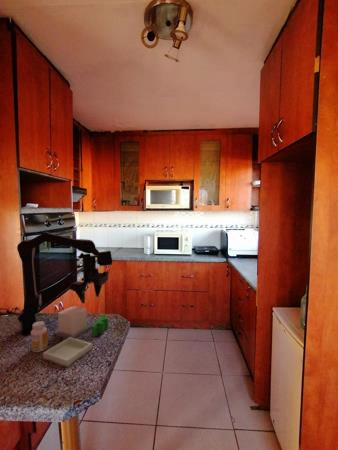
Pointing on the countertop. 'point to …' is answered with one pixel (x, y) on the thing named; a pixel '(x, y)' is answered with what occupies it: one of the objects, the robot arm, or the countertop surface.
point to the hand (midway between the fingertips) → (90, 299)
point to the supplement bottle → (39, 337)
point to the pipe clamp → (100, 326)
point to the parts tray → (67, 351)
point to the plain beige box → (72, 322)
